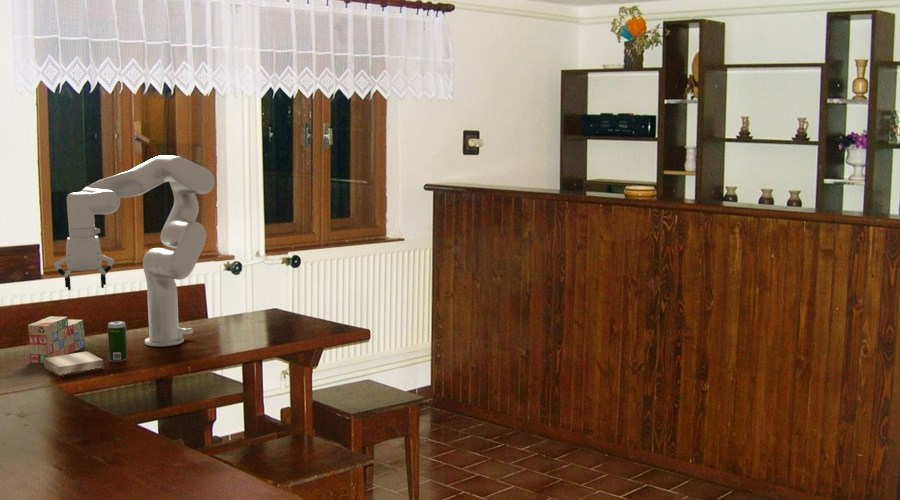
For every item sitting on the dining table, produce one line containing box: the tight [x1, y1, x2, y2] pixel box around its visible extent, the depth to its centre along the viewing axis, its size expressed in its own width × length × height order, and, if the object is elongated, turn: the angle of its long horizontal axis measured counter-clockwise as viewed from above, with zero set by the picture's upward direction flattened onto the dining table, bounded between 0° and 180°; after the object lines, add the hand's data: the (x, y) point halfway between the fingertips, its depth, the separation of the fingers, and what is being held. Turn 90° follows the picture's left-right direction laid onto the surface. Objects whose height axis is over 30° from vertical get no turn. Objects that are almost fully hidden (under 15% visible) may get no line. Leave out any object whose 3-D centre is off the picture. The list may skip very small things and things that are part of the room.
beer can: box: [107, 320, 128, 362], centre depth 323 cm, size 5×5×12 cm
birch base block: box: [44, 351, 104, 375], centre depth 314 cm, size 13×13×3 cm
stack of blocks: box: [27, 316, 86, 364], centre depth 330 cm, size 21×6×12 cm, turn 169°
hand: (86, 288), depth 319 cm, fingers open, 9 cm apart
